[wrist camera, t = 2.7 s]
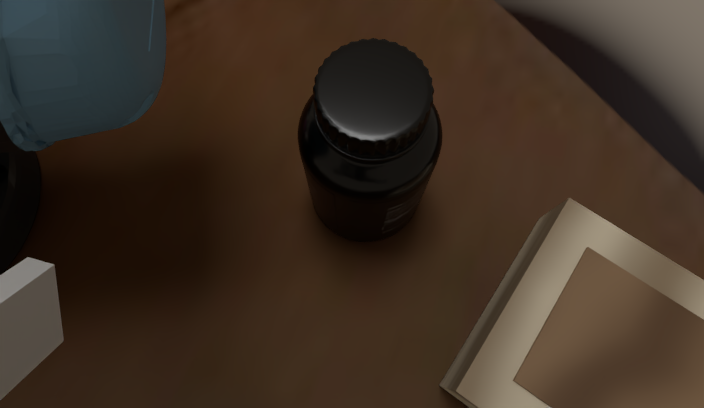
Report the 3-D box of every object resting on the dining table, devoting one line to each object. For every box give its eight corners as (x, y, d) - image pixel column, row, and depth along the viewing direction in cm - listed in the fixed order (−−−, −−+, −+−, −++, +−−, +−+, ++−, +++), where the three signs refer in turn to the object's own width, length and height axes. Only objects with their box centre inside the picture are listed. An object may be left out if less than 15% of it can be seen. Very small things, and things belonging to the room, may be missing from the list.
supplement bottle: (407, 138, 30) (445, 8, 19) (426, 237, 28) (482, 158, 17) (304, 150, 30) (280, 24, 19) (316, 251, 28) (296, 180, 16)
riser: (439, 385, 26) (456, 391, 22) (539, 218, 29) (571, 196, 25) (636, 529, 24) (695, 565, 20) (720, 332, 27) (787, 329, 23)
